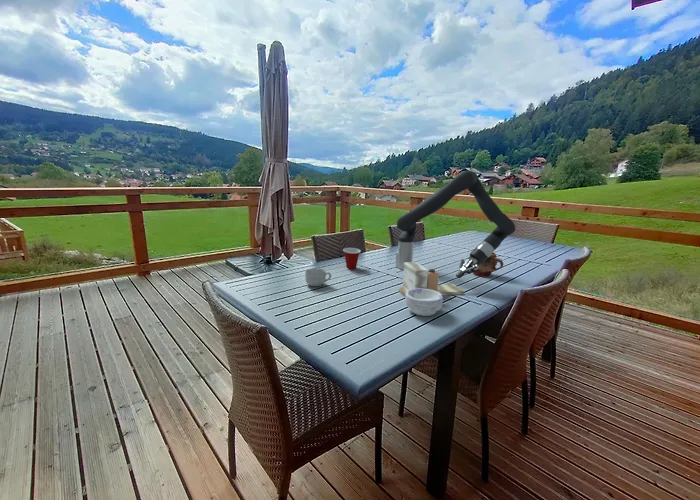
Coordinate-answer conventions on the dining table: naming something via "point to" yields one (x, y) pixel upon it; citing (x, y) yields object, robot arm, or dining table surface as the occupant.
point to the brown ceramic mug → (488, 266)
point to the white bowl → (423, 301)
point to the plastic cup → (351, 257)
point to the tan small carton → (432, 279)
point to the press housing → (422, 280)
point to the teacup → (316, 276)
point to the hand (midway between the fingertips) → (457, 277)
